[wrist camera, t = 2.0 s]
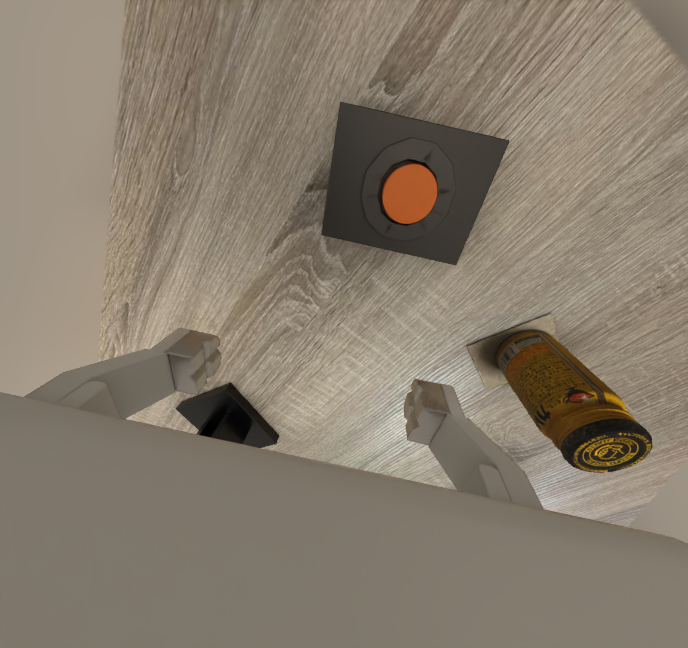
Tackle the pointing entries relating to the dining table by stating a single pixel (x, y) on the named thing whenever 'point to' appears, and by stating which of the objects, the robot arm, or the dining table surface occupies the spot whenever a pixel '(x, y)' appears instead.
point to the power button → (409, 193)
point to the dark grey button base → (392, 153)
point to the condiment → (562, 397)
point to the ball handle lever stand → (228, 418)
